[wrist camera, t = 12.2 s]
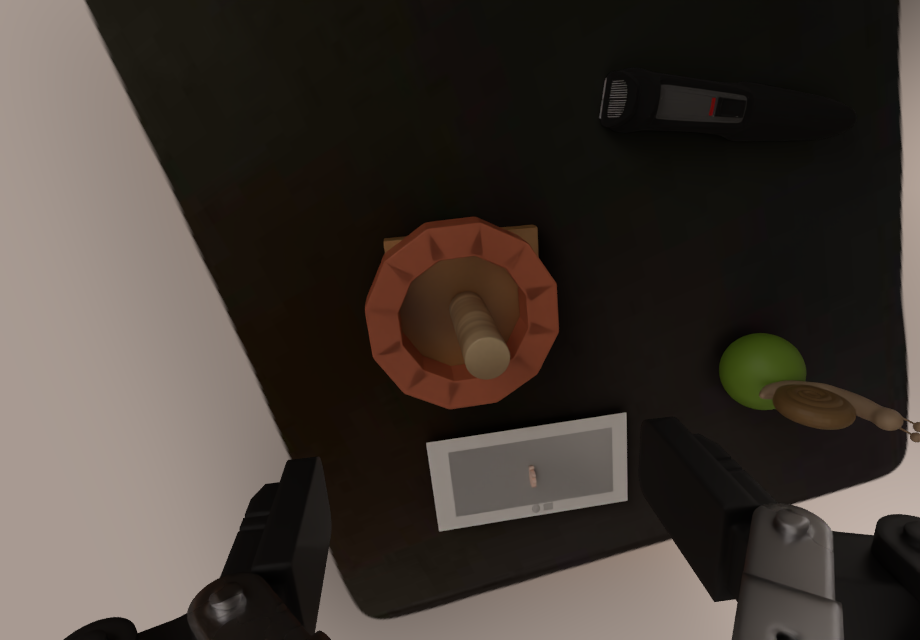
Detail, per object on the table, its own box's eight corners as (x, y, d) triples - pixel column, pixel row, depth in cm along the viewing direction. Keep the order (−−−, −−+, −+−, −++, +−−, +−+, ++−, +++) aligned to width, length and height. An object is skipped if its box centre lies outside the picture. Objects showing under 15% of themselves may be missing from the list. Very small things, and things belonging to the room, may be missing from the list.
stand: (383, 238, 36) (379, 274, 27) (533, 224, 37) (581, 255, 27) (400, 377, 39) (401, 454, 30) (537, 361, 40) (582, 432, 31)
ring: (355, 230, 35) (352, 238, 32) (542, 207, 36) (553, 213, 33) (384, 401, 39) (383, 419, 36) (552, 377, 39) (562, 393, 37)
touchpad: (425, 435, 41) (426, 451, 39) (620, 405, 42) (632, 419, 40) (438, 522, 44) (440, 541, 42) (622, 492, 45) (632, 509, 43)
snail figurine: (778, 387, 43) (914, 476, 32) (700, 391, 42) (810, 483, 31) (791, 321, 41) (939, 390, 30) (709, 324, 41) (830, 396, 29)
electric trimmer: (813, 152, 38) (849, 153, 35) (596, 131, 36) (616, 130, 33) (829, 92, 37) (868, 88, 34) (606, 67, 34) (627, 60, 31)
